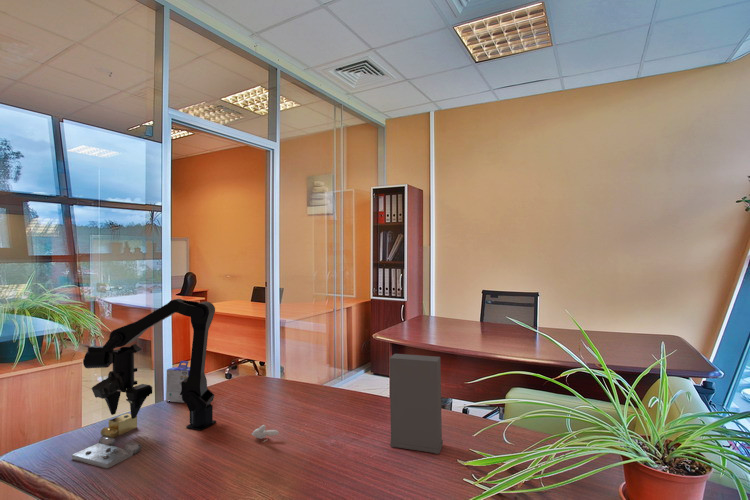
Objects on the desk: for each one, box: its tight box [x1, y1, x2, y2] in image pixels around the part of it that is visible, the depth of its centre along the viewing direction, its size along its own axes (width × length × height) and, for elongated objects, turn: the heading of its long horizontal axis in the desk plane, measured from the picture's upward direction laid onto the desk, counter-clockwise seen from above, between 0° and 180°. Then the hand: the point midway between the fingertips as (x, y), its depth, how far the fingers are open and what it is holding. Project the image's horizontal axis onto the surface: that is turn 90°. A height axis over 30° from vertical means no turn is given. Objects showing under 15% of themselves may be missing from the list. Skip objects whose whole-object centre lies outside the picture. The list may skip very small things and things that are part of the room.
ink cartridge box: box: [165, 360, 190, 404], centre depth 146 cm, size 10×6×14 cm, turn 78°
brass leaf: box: [100, 412, 138, 439], centre depth 119 cm, size 4×8×4 cm, turn 159°
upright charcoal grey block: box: [389, 353, 444, 455], centre depth 108 cm, size 14×6×25 cm, turn 71°
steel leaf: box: [71, 436, 142, 470], centre depth 104 cm, size 14×9×2 cm
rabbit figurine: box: [250, 424, 280, 443], centre depth 112 cm, size 6×4×8 cm
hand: (123, 416), depth 120 cm, fingers open, 9 cm apart
